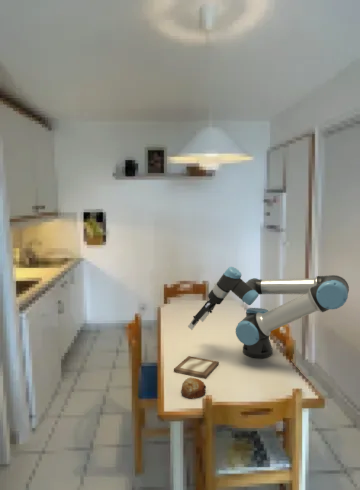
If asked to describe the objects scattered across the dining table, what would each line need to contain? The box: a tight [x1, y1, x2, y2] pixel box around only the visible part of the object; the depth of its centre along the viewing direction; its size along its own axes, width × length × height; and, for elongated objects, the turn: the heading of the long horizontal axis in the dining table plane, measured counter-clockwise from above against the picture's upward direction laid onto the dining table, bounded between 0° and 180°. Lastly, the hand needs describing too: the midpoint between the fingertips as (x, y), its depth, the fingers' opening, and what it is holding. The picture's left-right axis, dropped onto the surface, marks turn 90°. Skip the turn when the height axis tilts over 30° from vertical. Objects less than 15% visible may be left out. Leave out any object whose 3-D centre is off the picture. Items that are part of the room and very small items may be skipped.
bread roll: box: [180, 376, 207, 399], centre depth 155 cm, size 10×10×8 cm
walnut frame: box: [173, 355, 220, 380], centre depth 177 cm, size 16×16×2 cm
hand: (195, 324), depth 194 cm, fingers open, 13 cm apart
